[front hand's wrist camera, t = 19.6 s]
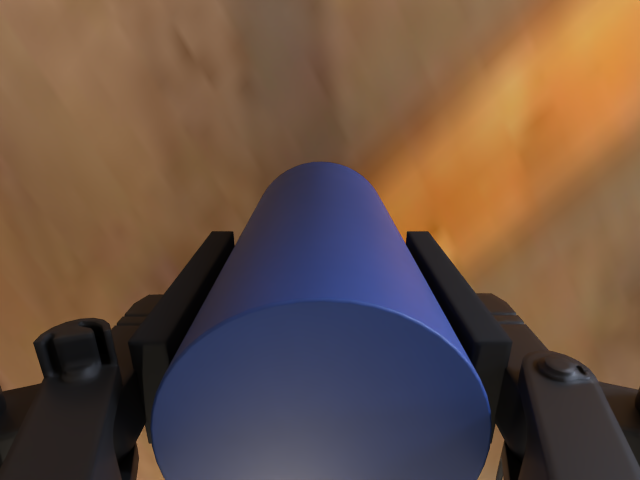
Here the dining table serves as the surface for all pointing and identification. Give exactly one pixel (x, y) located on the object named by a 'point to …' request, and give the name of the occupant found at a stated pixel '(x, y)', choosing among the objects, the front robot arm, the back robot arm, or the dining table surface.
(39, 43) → the dining table surface
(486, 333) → the front robot arm
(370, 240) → the cylinder
